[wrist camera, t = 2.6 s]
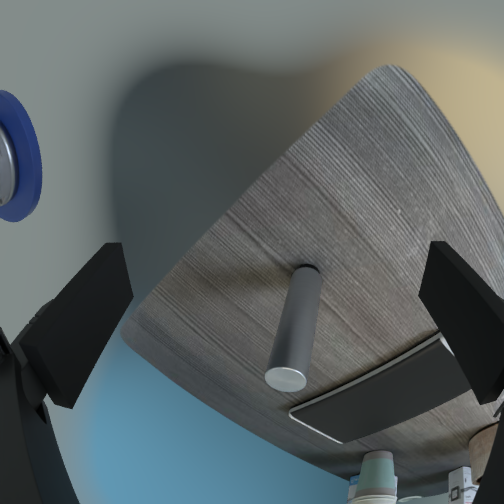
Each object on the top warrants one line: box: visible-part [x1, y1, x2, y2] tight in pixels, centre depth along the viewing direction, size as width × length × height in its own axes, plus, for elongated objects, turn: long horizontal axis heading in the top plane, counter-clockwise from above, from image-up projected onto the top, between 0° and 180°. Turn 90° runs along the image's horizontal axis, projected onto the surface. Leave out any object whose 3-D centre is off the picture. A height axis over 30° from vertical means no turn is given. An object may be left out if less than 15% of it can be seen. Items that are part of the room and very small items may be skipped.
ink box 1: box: [347, 475, 397, 504], centre depth 52 cm, size 8×8×12 cm
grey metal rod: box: [265, 264, 322, 392], centre depth 26 cm, size 3×3×13 cm
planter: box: [469, 423, 499, 485], centre depth 36 cm, size 11×11×10 cm
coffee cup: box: [352, 450, 397, 504], centre depth 45 cm, size 8×9×12 cm
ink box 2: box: [449, 466, 479, 504], centre depth 44 cm, size 9×5×15 cm, turn 66°
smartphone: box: [289, 332, 472, 444], centre depth 39 cm, size 13×27×2 cm, turn 142°
